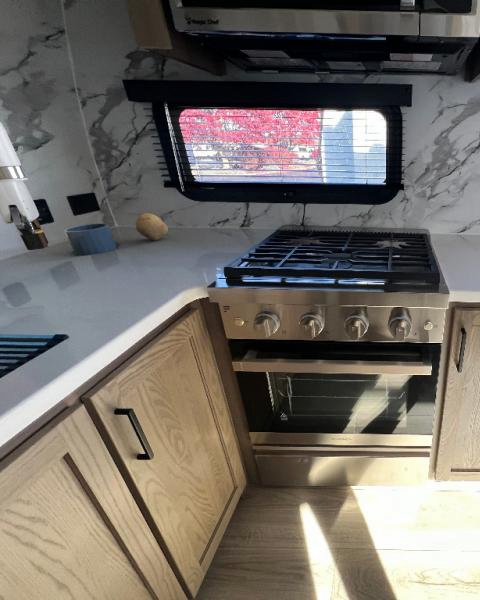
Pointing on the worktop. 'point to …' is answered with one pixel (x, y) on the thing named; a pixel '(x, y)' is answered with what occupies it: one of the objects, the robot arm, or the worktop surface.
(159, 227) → the potato
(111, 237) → the canister
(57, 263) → the worktop surface
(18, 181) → the robot arm
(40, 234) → the coffee pod
